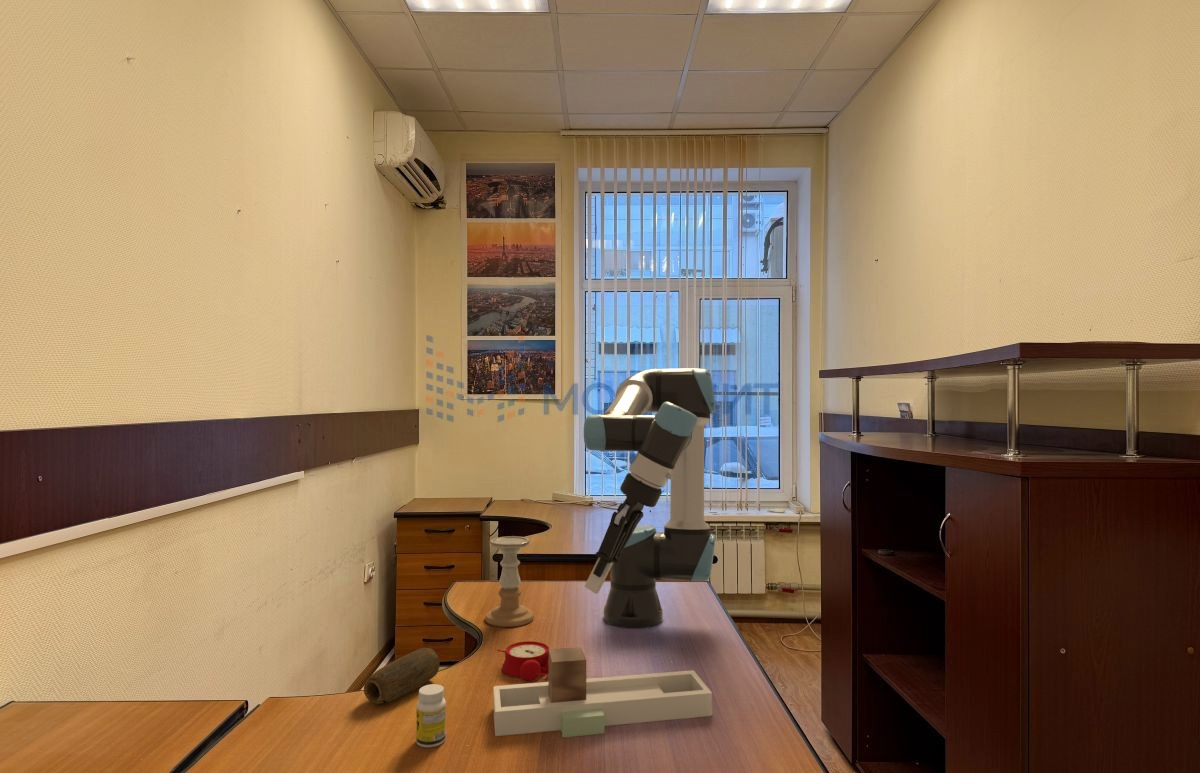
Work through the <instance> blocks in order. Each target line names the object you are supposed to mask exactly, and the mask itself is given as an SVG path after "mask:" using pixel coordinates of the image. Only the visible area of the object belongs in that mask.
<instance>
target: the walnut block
mask: <svg viewBox="0 0 1200 773" xmlns="http://www.w3.org/2000/svg"><path fill="white" fill-rule="evenodd" d="M586 678H587V658H586V656H585V654H584V651H583V649H582V647H580V646H579V647H578V646H577V647H566V648H549V675H548V682H549V684H548V694H549V698H550V702H551V703H556V702H568V701H579V700H586Z"/></svg>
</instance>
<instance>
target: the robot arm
mask: <svg viewBox="0 0 1200 773" xmlns="http://www.w3.org/2000/svg"><path fill="white" fill-rule="evenodd" d="M712 380H713V379H712V374H711V372H710V371H709V370H708V369H706V368H694V367H688V368H650V369H646V370H645V369H644V370H642V371H640V372H637V373H634V374H633V375H630V376H628V377H627V378H626V379H624V381H622V382H621V383H620V384H619V386H618V387H617V389H616V391H615V396H614V397H615V398H614V399H613V401H612V403H610V405H609V406H608V408H607V410H606V411H605V412H604V414H599V413H597V414H590V415H588V416H587V417H585V419H584V424H583V443H584V446H585V447H586V449H587V450H589V451H596V452H597V451H600V452H602V453H603V452H637V453H636V455H635V457H634V459H633V460H632V462H631V465H630V467H629V473H626V475H625V477H624V479H623V481H622V484H620V487H619V488H620V489H619V490H620V492H621V493H622V494H623V495H625V497H626V498H625V499H624V500H623V502H621V503H620V504H619V505H618V507H617V511H614V512H612V513H611V518H610V522H609V524H608V527H607V530H606V531H605V534H604V537H603V539H602V542H601V544H600V546H599V548H598V550H597V552H595V554H594V555H595V556H596V557H598V558H597V560H596V561H595V564H594V565H593V568H592V570H591V572H590V574H589V576H588V578H587V580H586V582H585V584H584V588H586V589H588V590H589V591H591V593H594V594H595V595H597V594H599V592H600V590H601V588H602V587H603V585H604V583H605V580H606V578H607V577H608V574H609V572H610V587H609V588H610V589H609V593H608V595H607V599H606V603H605V605H604V607H603V620H604V621H605V622H606V623H608V624H610V625H612V626H615V627H620V628H629V629H637V628H638V629H639V628H649V627H653V626H656V625H658V624H660V623H661V622H662V621H663V607H662V606H661V602H660V601H661V600H660V598H659V595H658V592H657V588H656V586H657V584H656V581H657V580H667V581H685V582H686V581H687V582H690V583H693V582H706V581H708V580H709V579H710V578H711V574H712V568H713V562H714V561H713V560H714V553H715V545H716V539H717V537H716V535H715V534H713V533H711V526H710V525H709V524H708V523H707V522H706V521H705V426H706V425H707V424H708V423H709V422H710V421H711V414H715V413H716V411H717V410H716V402H715V393H714V386H713V381H712ZM645 413H655V415H654V414H653V415H652V414H651V415H650V414H649V415H648V414H645ZM643 414H644V415H643ZM669 480H670V491H669V494H670V497H669V500H670V503H669V504H670V505H669V506H670V508H669V511H670V513H669V520H668V521H667V522H666V523H665V524H664V526H663V527H664V528H663V532H660V531H659V532H657V529H656V527H655V526H654V525H648V524H641V525H640V522H641V520H642V519H643V517H644V511H643V509H644V506H645V507H648V508H654V507H656V506H657V504H658V501H659V499H660V497H661V495H662V494H663V491H662V488H665V487H666V485H667V483H668V481H669ZM638 524H639V525H638Z"/></svg>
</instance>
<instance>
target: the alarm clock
mask: <svg viewBox="0 0 1200 773" xmlns="http://www.w3.org/2000/svg"><path fill="white" fill-rule="evenodd" d="M549 649H550V648H549V645H547V644H545V643H543V642H539V641H533V640H532V641H531V640H529V641H525V640H524V641H519V642H515V643H513V644H509V645H508V646H507V647H506V648H505V650H501V649H497V652H499V653H500V652H502V653H504V656H505V657H504V662H503V663H502V666H501V668H502V672H503V673H504V674H506V675H507V676H511V677H513V678H519V679H522V680H523V681H525V682H527V683H532V682H534V681H537V679H538V678H539V677H541V676H549Z"/></svg>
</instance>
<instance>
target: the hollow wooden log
mask: <svg viewBox="0 0 1200 773" xmlns="http://www.w3.org/2000/svg"><path fill="white" fill-rule="evenodd" d="M439 670H440V659H439V656H438V654H437V653H436V651H435V650H434V649H432V648H431V647H422V648H419V649H416V650H414V651H412V652H410V653H408V654H405V655H403V656H402V657H399V658H397V659H395V660H394V661H391V662H389V663H388V664H386V665H384V666H383V667H381V668H379V669H378V670H376V671H375V672H373V673H372V674H371V675H370V676H369V677H368V678H367V679H366V681H365V682H364V685H363V693H364V695H365V697H366V699H367V700H368V701H369V702H371V703H374V704H375V705H381V704H387V703H390V702H393V701H394V700H397V699H399V698H401V697H403V696H405V695H407V694H408V693H411V692H412V691H414V690H416V689H418V688H421V686H424V685H425V684H426V683H428V682H429V681H431V680H432V679H433V678H434V677H435V676H436V675H437V674H438V672H439Z"/></svg>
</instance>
